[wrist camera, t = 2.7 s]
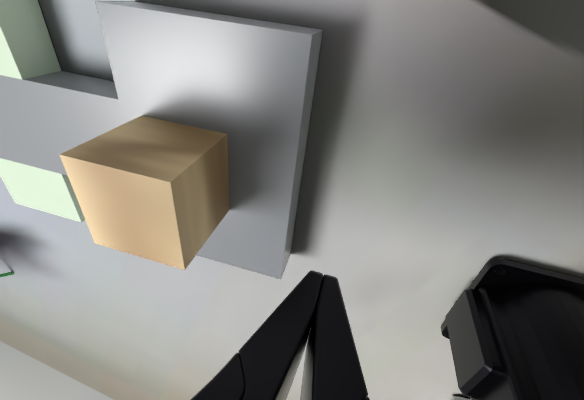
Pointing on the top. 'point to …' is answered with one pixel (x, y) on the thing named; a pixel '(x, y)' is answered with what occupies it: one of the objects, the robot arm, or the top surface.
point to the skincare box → (458, 398)
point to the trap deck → (167, 110)
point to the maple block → (152, 188)
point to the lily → (6, 274)
